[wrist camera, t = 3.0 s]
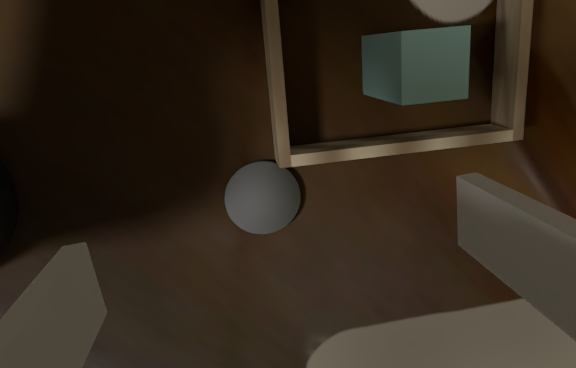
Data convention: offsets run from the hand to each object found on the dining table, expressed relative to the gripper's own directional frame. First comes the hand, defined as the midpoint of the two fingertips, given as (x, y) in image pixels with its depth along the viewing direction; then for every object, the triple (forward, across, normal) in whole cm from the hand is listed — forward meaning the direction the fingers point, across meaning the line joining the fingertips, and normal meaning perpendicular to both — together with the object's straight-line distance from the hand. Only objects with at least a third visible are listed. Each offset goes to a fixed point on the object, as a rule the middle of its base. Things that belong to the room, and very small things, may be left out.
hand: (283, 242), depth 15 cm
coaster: (+25, 0, -6) cm, 26 cm away
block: (+25, +13, +4) cm, 29 cm away
